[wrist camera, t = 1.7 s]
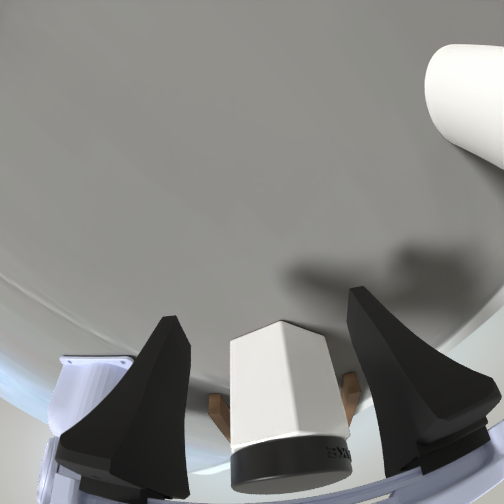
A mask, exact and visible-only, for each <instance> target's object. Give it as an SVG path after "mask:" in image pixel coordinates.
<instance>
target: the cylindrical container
mask: <svg viewBox="0 0 504 504" xmlns="http://www.w3.org/2000/svg"><path fill="white" fill-rule="evenodd" d="M425 97H426V103H427V107H428V111H429V114H430V116H431V119H432V121H433V123H434V125H435V126H436V128H437V129H438V131H439V132H440V133H441V134H442V136H443V137H444V138H445V139H447V140H448V141H450V142H451V143H453V144H455V145H457V146H459V147H461V148H463V149H465V150H467V151H469V152H471V153H473V154H475V155H477V156H479V157H481V158H483V159H485V160H487V161H489V162H491V163H492V164H494V165H496V166H498V167H499V168H501V169H503V170H504V47H499V46H487V45H464V44H451V45H447V46H444V47H442V48H440V49H439V50H438V51H437V52H436V53H435V54H434V55H433V57H432V59H431V60H430V62H429V65H428V68H427V71H426V77H425Z"/></svg>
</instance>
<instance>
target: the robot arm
mask: <svg viewBox="0 0 504 504" xmlns="http://www.w3.org/2000/svg"><path fill="white" fill-rule="evenodd" d="M347 325H348V329H349V333H350V337H351V340H352V344H353V346H354V349H355V351H356V354H357V356H358V359H359V362H360V364H361V367H362V369H363V372H364V374H365V377H366V380H367V382H368V385H369V388H370V391H371V394H372V398H373V403H374V407H375V411H376V415H377V420H378V426H379V431H380V437H381V443H382V450H383V459H384V468H385V476H386V479H383V480H380V481H377V482H374V483H370V484H367V485H363V486H360V487H355V488H352V489H347V490H343V491H339V492H335V493H329V494H325V495H319V496H313V497H307V498H301V499H293V500H285V501H277V502H264V503H246V504H355V503H358V502H363V501H366V500H370V499H373V498H377V497H380V496H383V495H386V494H389V493H391V494H390V496H389V498H388V499H385V500H382V501H379V502H376V503H373V504H470V503H472V502H473V501H475V500H476V499H477V498H479V497H480V496H482V495H484V494H485V493H486V492H488V491H489V490H490V489H492V488H493V487H495V486H496V485H497V484H499V483H500V482H501V481H503V480H504V419H503V420H502V421H500V422H499V423H497V424H496V425H494V426H493V427H491V428H490V429H488V430H487V429H486V426H485V425H486V424H488V420H487V418H486V415H487V414H488V413H489V412H490V411H491V410H492V409H493V408H494V407H495V406H496V405H497V404H498V403H499V402H500V400H501V397H502V396H501V394H500V391H499V389H498V387H497V385H496V383H495V382H494V380H493V379H492V378H491V377H488V376H486V375H483V374H481V373H478V372H476V371H473V370H471V369H469V368H467V367H465V366H463V365H461V364H459V363H457V362H455V361H453V360H452V359H450V358H449V357H447V356H445V355H444V354H442V353H440V352H439V351H437V350H436V349H434V348H433V347H431V346H430V345H428V344H427V343H426V342H424V341H423V340H421V339H420V338H419V337H418V336H416V335H415V334H414V333H413V332H412V331H410V330H409V329H408V328H407V327H406V326H404V325H403V324H402V323H401V322H400V321H399V320H398V319H397V318H396V317H395V316H394V315H392V314H391V313H390V312H389V311H388V310H387V309H386V308H385V307H384V306H383V305H382V304H381V303H380V302H379V301H378V300H377V299H376V298H375V297H374V296H373V295H372V294H371V293H370V292H369V291H368V290H367V289H366V288H365V287H364V286H360V287H355V288H350V289H349V301H348V313H347ZM60 361H61V363H62V364H63V368H62V370H61V373H60V375H59V378H58V381H57V383H56V386H55V389H54V392H53V394H52V397H51V400H50V403H49V407H48V423H49V427H50V429H51V431H52V433H53V434H54V436H55V437H54V438H51V439H49V440H48V443H47V445H46V448H45V452H44V455H43V459H42V463H41V468H40V473H39V480H38V491H37V501H38V503H39V504H207V503H189V502H177V501H167V500H165V499H173V498H175V499H186V498H187V497H188V496H189V495H190V491H189V484H188V477H187V468H186V457H185V435H184V418H185V407H186V399H187V391H188V383H189V376H190V368H191V345H190V343H189V341H188V339H187V337H186V335H185V333H184V331H183V329H182V327H181V325H180V323H179V321H178V319H177V317H176V315H175V316H166V317H162V319H161V320H160V322H159V323H158V325H157V326H156V328H155V330H154V331H153V333H152V334H151V336H150V338H149V339H148V341H147V342H146V344H145V346H144V347H143V349H142V350H141V352H140V353H139V355H138V356H137V358H136V359H135V361H134V360H133V359H132V358H131V357H128V356H119V357H70V356H61V357H60ZM392 492H393V493H392Z"/></svg>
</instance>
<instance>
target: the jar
mask: <svg viewBox="0 0 504 504" xmlns="http://www.w3.org/2000/svg"><path fill="white" fill-rule="evenodd" d="M230 434H231V450H232V455H231V458H230V459H231V487H232V489H233V490H235V491H237V492H240V493H246V494H284V493H293V492H299V491H305V490H311V489H315V488H319V487H323V486H326V485H330V484H333V483H336V482H338V481H341V480H343V479H345V478H347V477H348V476H350V475H351V473H352V466H351V455H350V451H349V450H348V447H347V443H346V440H347V439H348V438H349V436H350V431H349V426H348V422H347V418H346V414H345V410H344V406H343V402H342V398H341V395H340V391H339V387H338V383H337V379H336V376H335V372H334V368H333V365H332V361H331V357H330V354H329V350H328V347H327V343H326V340H325V337H324V336H323V335H320V334H317V333H314V332H311V331H308V330H306V329H303V328H300V327H297V326H294V325H292V324H289V323H286V322H283V321H278V322H276V323H273V324H271V325H268V326H266V327H264V328H261V329H259V330H256V331H254V332H251V333H249V334H246V335H243V336H241V337H238V338H236V339H233V340H231V342H230Z"/></svg>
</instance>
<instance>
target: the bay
mask: <svg viewBox="0 0 504 504" xmlns="http://www.w3.org/2000/svg"><path fill="white" fill-rule="evenodd" d="M360 392H361V391H360V387H359V384H358V381H357V378H356V375H355V372H353V373H348V374H344V376H343V382H342V388H341V394H340V395H341V398H342V402H343V406H344V410H345V414H346V418H347V422H348V426H350V423H351V421H352V418H353V415H354V412H355V409H356V405H357V402H358V399H359V396H360ZM208 415H209V416H210V417H211V419H212V420H213V421H214V423H215V424H216V425H217V427H218V428H219V429H220V431H221V432H222V433H223V435H224V436H225V437H226V439H227V440H228V441H229V442H230V444H231V434H230V410H229V408H228V407H227V405H226V403H225V401H224V399H223V398H222V396H221V394H220V393H218V394H209V409H208Z"/></svg>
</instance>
